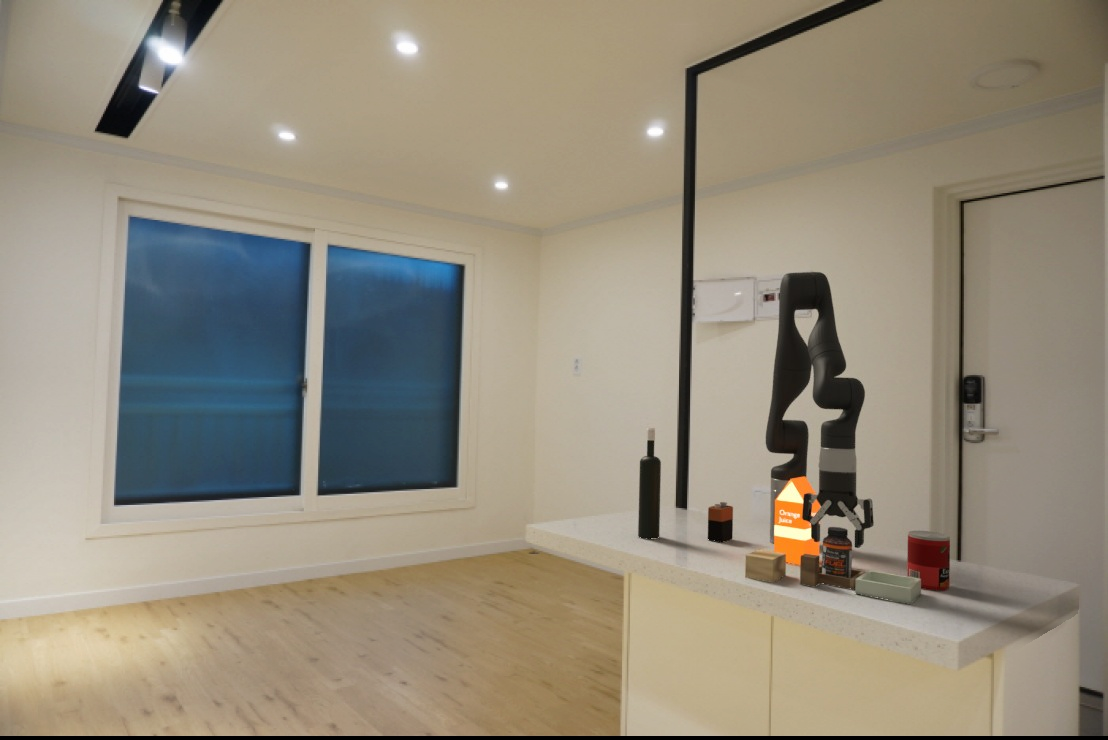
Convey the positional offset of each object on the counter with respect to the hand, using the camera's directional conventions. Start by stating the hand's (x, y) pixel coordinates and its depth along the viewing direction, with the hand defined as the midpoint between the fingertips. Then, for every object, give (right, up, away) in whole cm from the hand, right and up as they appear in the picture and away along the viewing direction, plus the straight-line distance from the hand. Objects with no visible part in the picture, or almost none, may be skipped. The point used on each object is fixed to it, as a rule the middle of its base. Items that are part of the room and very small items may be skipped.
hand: (836, 544), depth 151 cm
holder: (0, -8, 0) cm, 8 cm away
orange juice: (-2, -9, +18) cm, 20 cm away
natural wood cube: (-15, -8, +2) cm, 17 cm away
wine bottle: (-35, -9, +41) cm, 55 cm away
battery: (-16, -9, +40) cm, 44 cm away
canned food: (+19, -9, -2) cm, 21 cm away
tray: (+7, -8, -9) cm, 14 cm away
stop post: (-7, -8, -3) cm, 11 cm away
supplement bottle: (0, -8, 0) cm, 8 cm away
